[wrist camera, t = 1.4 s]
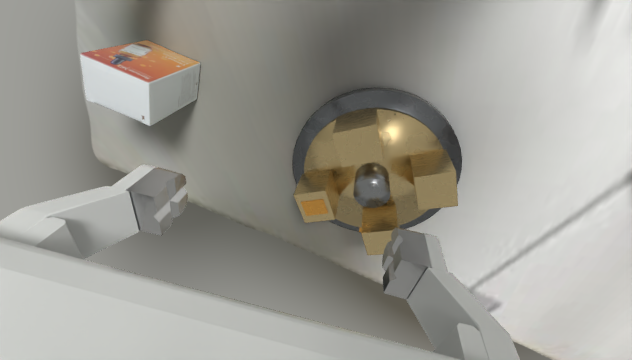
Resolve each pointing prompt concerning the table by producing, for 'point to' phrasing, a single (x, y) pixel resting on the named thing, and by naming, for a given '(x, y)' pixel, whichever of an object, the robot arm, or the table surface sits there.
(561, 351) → the table surface
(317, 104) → the table surface
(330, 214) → the four-lug gold disc
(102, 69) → the small box
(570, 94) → the table surface
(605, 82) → the table surface
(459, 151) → the base plate
